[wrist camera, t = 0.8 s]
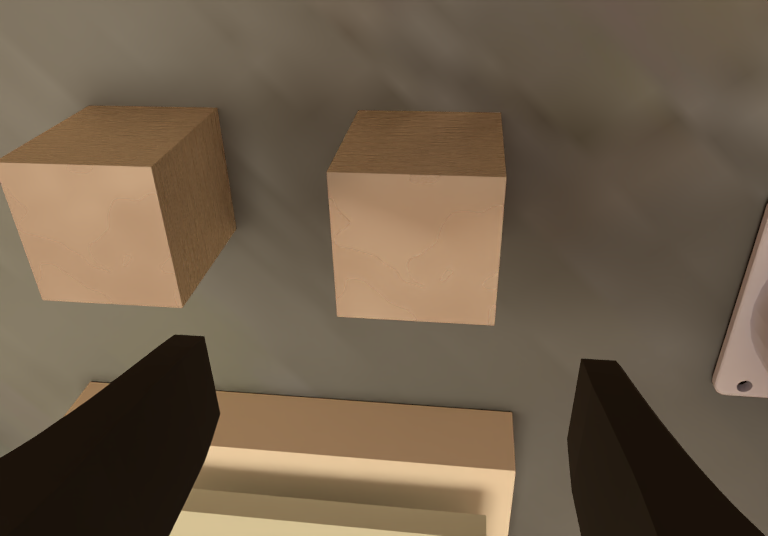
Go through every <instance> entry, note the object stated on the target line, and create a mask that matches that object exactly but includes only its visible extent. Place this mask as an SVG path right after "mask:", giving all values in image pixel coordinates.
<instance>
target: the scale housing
mask: <svg viewBox="0 0 768 536" xmlns="http://www.w3.org/2000/svg"><path fill="white" fill-rule="evenodd" d="M109 384H110V383H99V382H90V383H89V384H88V386H87V387H86V388H85V389H84V391H83V392H82V393H81V395H80V396H79V397H78V399H77V400H76V401H75V402H74V404H73V405H72V406H71V408H70V409H69V410H68V412H67V413H66V414H65V416H66V415H67V414H69V413H70V412H72V411H73V410H74V409H76V408H77V407H79V406H80V405H82V404H83V403H84V402H86V401H87V400H89V399H90V398H91V397H93V396H94V395H95V394H97V393H98V392H99V391H101V390H102V389H103V388H105V387H106V386H107V385H109ZM216 395H217V400H218V405H219V409H220V417H219V420H218V423H217V426H216V429H215V433H214V436H213V439H212V442H211V445H210V448H209V451H208V454H207V457H206V460H205V462H204V464H203V466H202V468H201V471H200V473H199V475H198V477H197V479H196V481H195V483H194V485H193V488H192V489H203V490H214V491H225V492H236V493H247V494H258V495H269V496H279V497H290V498H301V499H312V500H323V501H334V502H345V503H356V504H367V505H378V506H389V507H400V508H411V509H422V510H433V511H444V512H455V513H466V514H477V515H486V536H508V530H509V521H510V513H511V505H512V496H513V488H514V480H515V471H516V470H515V453H514V436H513V419H512V412H501V411H487V410H474V409H460V408H446V407H432V406H418V405H404V404H390V403H376V402H362V401H349V400H335V399H321V398H307V397H293V396H279V395H265V394H251V393H237V392H224V391H216Z"/></svg>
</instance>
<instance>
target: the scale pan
mask: <svg viewBox="0 0 768 536" xmlns="http://www.w3.org/2000/svg"><path fill="white" fill-rule="evenodd" d="M169 536H486V515H477V514H466V513H455V512H444V511H433V510H422V509H411V508H400V507H389V506H378V505H367V504H356V503H345V502H334V501H323V500H312V499H301V498H290V497H279V496H269V495H258V494H247V493H236V492H225V491H214V490H203V489H192V490H191V492H190V494H189V496H188V498H187V500H186V502H185V504H184V506H183V508H182V510H181V513H180V515H179V517H178V519H177V521H176V523H175V525H174V527H173V529H172V531H171V533H170V535H169Z"/></svg>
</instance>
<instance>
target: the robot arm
mask: <svg viewBox="0 0 768 536" xmlns="http://www.w3.org/2000/svg"><path fill="white" fill-rule="evenodd" d="M742 381H747V382H746V383H744V384H740V385H738V383H740V382H742ZM712 383H713V385H714V387H715V389H716V391H717V392H719V393H720V394H724V395H734V396H749V397H764V398H768V204H767V206H766V209H765V213H764V216H763V219H762V222H761V225H760V228H759V232H758V235H757V238H756V241H755V244H754V247H753V251H752V254H751V257H750V260H749V263H748V266H747V270H746V273H745V276H744V279H743V282H742V285H741V289H740V292H739V295H738V298H737V301H736V304H735V308H734V311H733V314H732V317H731V320H730V324H729V327H728V330H727V333H726V336H725V339H724V343H723V346H722V349H721V352H720V355H719V358H718V362H717V365H716V368H715V371H714V374H713V377H712ZM219 417H220V409H219V405H218V400H217V395H216V390H215V385H214V381H213V376H212V371H211V366H210V362H209V357H208V352H207V347H206V343H205V338H204V336H189V335H174V336H172V337H171V338H169V339H168V340H166V341H165V342H164V343H162V344H161V345H160V346H158V347H157V348H156V349H154V350H153V351H152V352H150V353H149V354H148V355H147V356H145V357H144V358H143V359H141V360H140V361H139V362H138V363H136V364H135V365H134V366H132V367H131V368H130V369H128V370H127V371H126V372H125V373H123V374H122V375H121V376H119V377H118V378H117V379H115V380H114V381H113V382H111V383H110V384H109V385H107V386H106V387H105V388H103V389H102V390H101V391H99V392H98V393H97V394H95V395H94V396H93V397H91V398H90V399H89V400H87V401H86V402H84V403H83V404H82V405H80V406H79V407H77V408H76V409H74V410H73V411H72V412H70V413H69V414H67V415H66V416H64V417H63V418H61V419H60V420H59V421H57V422H56V423H54V424H53V425H51V426H50V427H49V428H47V429H46V430H44V431H43V432H41V433H40V434H38V435H37V436H35V437H34V438H32V439H30V440H29V441H27V442H26V443H24V444H23V445H21V446H19V447H18V448H16V449H14V450H13V451H11V452H9V453H8V454H6V455H4V456H3V457H1V458H0V536H169V535H170V533H171V531H172V529H173V527H174V525H175V523H176V521H177V519H178V517H179V515H180V513H181V510H182V508H183V506H184V504H185V502H186V500H187V498H188V496H189V494H190V492H191V490H192V488H193V485H194V483H195V481H196V479H197V477H198V475H199V473H200V471H201V468H202V466H203V464H204V462H205V460H206V457H207V454H208V451H209V448H210V445H211V442H212V439H213V436H214V433H215V429H216V426H217V423H218V420H219ZM567 442H568V454H569V466H570V477H571V487H572V494H573V499H574V503H575V508H576V513H577V518H578V523H579V527H580V532H581V536H765V535H764V534H763V533H762V532H761V531H760V530H759V529H758V528H757V527H756V526H755V525H753V524H752V523H751V522H750V521H749V520H748V519H747V518H746V517H745V516H744V515H743V514H742V513H741V512H740V511H739V510H738V509H737V508H736V507H735V506H734V505H733V504H732V503H731V502H730V501H729V500H728V499H727V498H726V496H725V495H724V494H723V493H722V492H721V491H720V490H719V489H718V488H717V487H716V486H715V485H714V483H713V482H712V481H711V480H710V479H709V478H708V477H707V476H706V475H705V474H704V472H703V471H702V470H701V469H700V468H699V467H698V466H697V464H696V463H695V462H694V461H693V460H692V459H691V457H690V456H689V455H688V454H687V453H686V452H685V450H684V449H683V448H682V447H681V445H680V444H679V443H678V442H677V440H676V439H675V438H674V437H673V436H672V434H671V433H670V432H669V431H668V429H667V428H666V427H665V426H664V424H663V423H662V422H661V421H660V419H659V418H658V417H657V415H656V414H655V413H654V411H653V410H652V409H651V407H650V406H649V405H648V403H647V402H646V401H645V399H644V398H643V397H642V395H641V394H640V393H639V391H638V390H637V388H636V387H635V386H634V384H633V383H632V381H631V380H630V379H629V377H628V376H627V374H626V373H625V372H624V370H623V369H622V367H621V366H620V365H619V364H618V363H617V362H616V361H611V360H594V359H581V363H580V369H579V375H578V380H577V386H576V392H575V398H574V403H573V409H572V415H571V421H570V426H569V432H568V438H567Z"/></svg>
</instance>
